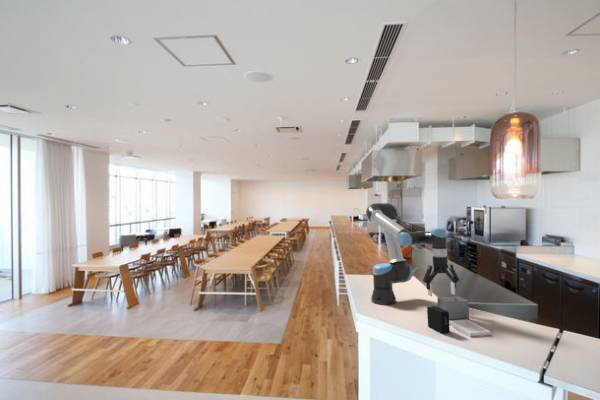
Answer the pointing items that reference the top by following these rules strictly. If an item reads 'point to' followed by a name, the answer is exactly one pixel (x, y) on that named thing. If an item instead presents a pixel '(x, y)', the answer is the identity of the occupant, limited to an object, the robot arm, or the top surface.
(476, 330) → the tray
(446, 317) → the electronic device
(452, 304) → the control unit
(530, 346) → the top surface
